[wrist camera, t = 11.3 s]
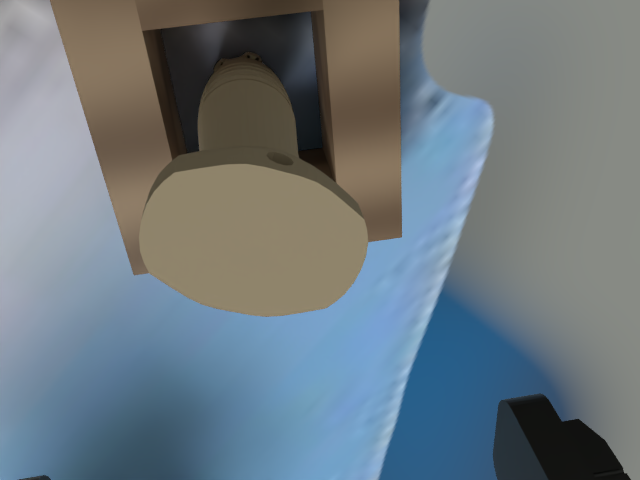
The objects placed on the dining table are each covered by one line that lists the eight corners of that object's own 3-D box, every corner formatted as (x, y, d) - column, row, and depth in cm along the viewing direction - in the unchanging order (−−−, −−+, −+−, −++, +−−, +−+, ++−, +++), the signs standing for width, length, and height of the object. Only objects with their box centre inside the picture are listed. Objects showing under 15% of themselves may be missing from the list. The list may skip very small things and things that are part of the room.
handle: (189, 11, 28) (159, 139, 15) (321, 54, 30) (392, 200, 17) (167, 109, 30) (124, 291, 17) (290, 143, 32) (333, 330, 19)
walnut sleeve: (66, -63, 26) (35, -47, 21) (370, -95, 26) (398, -86, 22) (145, 222, 33) (133, 275, 29) (380, 190, 34) (401, 237, 30)
